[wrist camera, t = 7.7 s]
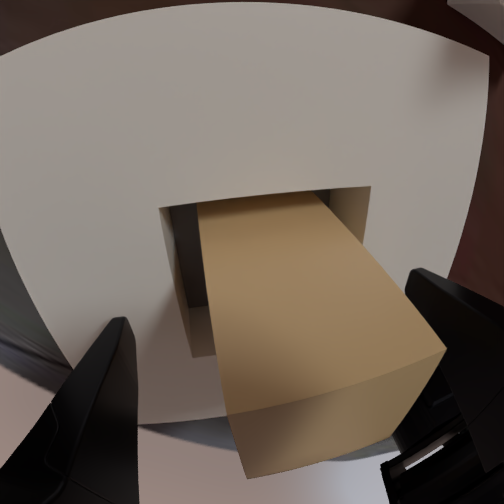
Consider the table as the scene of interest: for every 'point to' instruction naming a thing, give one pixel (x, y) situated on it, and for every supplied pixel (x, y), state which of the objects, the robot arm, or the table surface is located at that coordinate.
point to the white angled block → (483, 14)
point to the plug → (306, 332)
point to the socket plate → (222, 162)
